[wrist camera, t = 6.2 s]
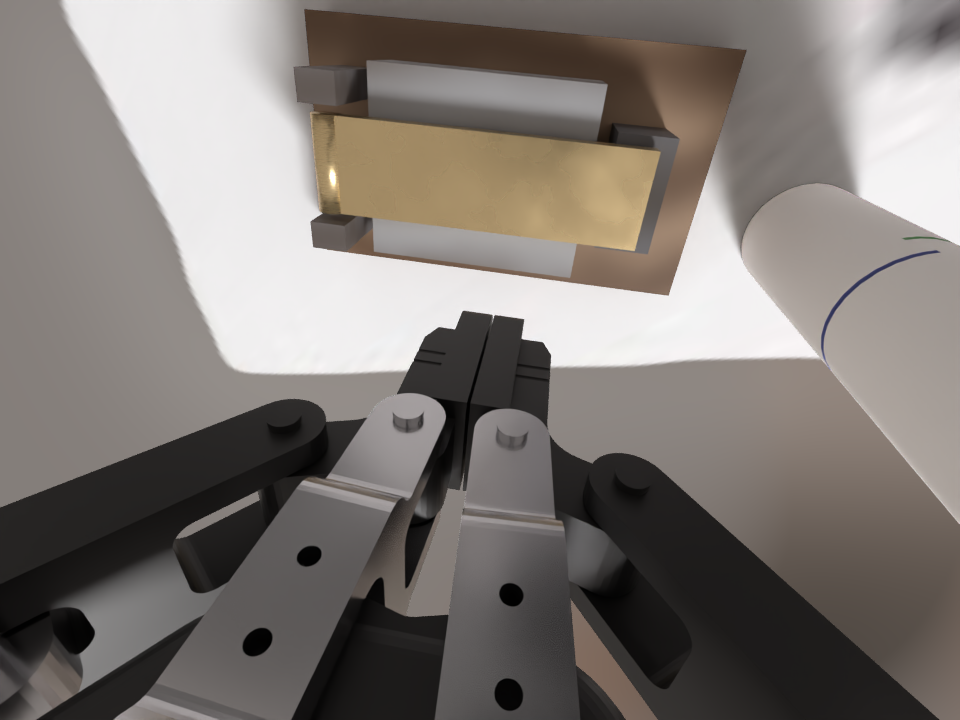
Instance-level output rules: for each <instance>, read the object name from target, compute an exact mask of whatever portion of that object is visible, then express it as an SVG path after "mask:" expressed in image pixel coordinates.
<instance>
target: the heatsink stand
mask: <svg viewBox="0 0 960 720" xmlns="http://www.w3.org/2000/svg"><path fill="white" fill-rule="evenodd" d="M304 10H305V21H306V31H307V42H308V53H309V64H310V66H302V67H294V74H295V83H296V92H297V102H303V103H312V104H313V106H314V111H330V112H338V113H341V114H350V115H359V116H368V117H377V118H386V119H396V120H405V121H414V122H423V123H432V124H441V125H450V126H459V127H468V128H478V129H487V130H496V131H505V132H514V133H523V134H532V135H541V136H551V137H560V138H569V139H578V140H587V141H596V142H605V143H614V144H623V145H633V146H642V147H651V148H658V149H659V150H660V151H661V153H660V157H659V160H658V164H657V168H656V172H655V176H654V179H653V183H652V187H651V191H650V195H649V198H648V202H647V206H646V210H645V214H644V217H643V221H642V225H641V229H640V233H639V236H638V240H637V244H636V248H635V251H630V250H622V249H614V248H606V247H599V246H591V245H583V244H575V243H567V242H559V241H551V240H543V239H535V238H528V237H520V236H512V235H504V234H496V233H488V232H480V231H472V230H465V229H457V228H449V227H441V226H433V225H425V224H417V223H409V222H401V221H394V220H386V219H378V218H370V217H362V216H354V215H346V214H326V213H323V214H321V215H320V216H318V217H317V218H315V219H314V220H312V221H311V231H312V240H313V247H315V248H323V249H327V250H334V251H341V252H349V253H356V254H364V255H371V256H379V257H386V258H393V259H401V260H408V261H416V262H423V263H430V264H438V265H445V266H453V267H460V268H468V269H475V270H482V271H490V272H497V273H505V274H512V275H519V276H527V277H534V278H542V279H549V280H557V281H564V282H571V283H579V284H586V285H594V286H601V287H609V288H616V289H623V290H631V291H638V292H646V293H653V294H660V295H669V292H670V289H671V286H672V283H673V280H674V276H675V273H676V270H677V267H678V264H679V261H680V258H681V254H682V251H683V248H684V245H685V242H686V239H687V236H688V232H689V229H690V226H691V223H692V220H693V217H694V214H695V210H696V207H697V204H698V201H699V198H700V195H701V192H702V189H703V185H704V182H705V179H706V176H707V173H708V170H709V167H710V163H711V160H712V157H713V154H714V151H715V148H716V145H717V141H718V138H719V135H720V132H721V129H722V126H723V123H724V119H725V116H726V113H727V110H728V107H729V104H730V101H731V97H732V94H733V91H734V88H735V85H736V82H737V79H738V75H739V72H740V69H741V66H742V63H743V60H744V57H745V53H746V50H740V49H729V48H719V47H708V46H697V45H686V44H675V43H664V42H654V41H643V40H632V39H621V38H610V37H600V36H589V35H578V34H567V33H556V32H545V31H535V30H524V29H513V28H502V27H491V26H481V25H470V24H459V23H448V22H437V21H426V20H416V19H405V18H394V17H383V16H372V15H361V14H351V13H340V12H329V11H318V10H307V9H304Z"/></svg>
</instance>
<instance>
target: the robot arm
mask: <svg viewBox="0 0 960 720" xmlns="http://www.w3.org/2000/svg"><path fill="white" fill-rule="evenodd" d="M492 321H493V323H492ZM523 324H524V319H518V318H511V317H504V316H497V315H495V316H494V319H493V315H490V314H483V313H476V312H469V311H463V312H462V314H461V316H460V319H459V321H458V324H457V326H456V329H455V330H454V329H447V328H441V327H439V328H437V329H436V330H434V331H433V332H431V333H430V334H428V335H427V336H425V338H424V340H423V342H422V344H421V346H420V348H419V351H418V352H417V354H416V356H415V358H414V362H412V364H411V366H410V368H409V370H408V372H407V374H406V377H405V379H404V381H403V383H402V385H401V387H400V389H399V391H398V393H397V395H393V396H390V397H388V398H386V399H384V400H382V401H380V402H379V403H378V404H377V405H376V406H375V407H374V408H373V410H372V411H371V413H370V414H369V416H368V417H367V418H364V419H359V420H350V421H334V422H326V416H325V413H324V411H323V410H322V409H321V408H320V407H319V406H318V405H316V404H314V403H312V402H310V401H306V400H300V399H287V400H280V401H275V402H272V403H270V404H267V405H264V406H261V407H259V408H256V409H254V410H251V411H248V412H246V413H243V414H241V415H238V416H236V417H233V418H230V419H228V420H225V421H223V422H220V423H217V424H215V425H212V426H210V427H207V428H204V429H202V430H199V431H197V432H194V433H192V434H189V435H186V436H184V437H181V438H179V439H176V440H173V441H171V442H169V443H166V444H163V445H161V446H158V447H155V448H153V449H150V450H148V451H145V452H142V453H140V454H137V455H135V456H132V457H130V458H128V459H124V460H122V461H119V462H117V463H114V464H112V465H109V466H106V467H104V468H101V469H99V470H96V471H93V472H91V473H88V474H86V475H83V476H81V477H78V478H75V479H73V480H70V481H68V482H65V483H62V484H60V485H57V486H55V487H52V488H50V489H47V490H44V491H42V492H39V493H37V494H34V495H32V496H29V497H26V498H24V499H21V500H19V501H16V502H13V503H11V504H8V505H6V506H3V507H1V508H0V720H626V719H625V718H624V717H623V715H622V713H621V712H620V711H619V709H618V708H617V706H616V705H615V704H614V703H613V701H612V700H611V699H610V698H609V697H608V695H607V694H606V693H605V692H604V691H603V690H602V689H601V688H600V686H598V684H597V683H596V682H595V681H594V680H593V679H592V678H591V677H589V676H588V675H587V674H586V673H585V672H583V671H582V670H581V669H580V668H579V667H577V666H576V662H575V649H574V637H573V625H572V613H571V600H572V601H573V603H574V604H575V605H576V607H577V608H578V609H579V611H580V612H581V614H582V615H583V616H584V618H585V619H586V621H587V622H588V623H589V625H590V626H591V627H592V629H593V630H594V632H595V633H596V634H597V636H598V637H599V638H600V640H601V641H602V643H603V644H604V645H605V647H606V648H607V649H608V651H609V652H610V654H611V655H612V657H613V658H614V659H615V661H616V662H617V663H618V665H619V666H620V668H621V669H622V670H623V672H624V673H625V674H626V676H627V677H628V679H629V680H630V681H631V683H632V684H633V686H634V687H635V688H636V690H637V691H638V693H639V694H640V695H641V697H642V698H643V700H644V701H645V702H646V704H647V705H648V706H649V708H650V709H651V711H652V712H653V713H654V715H655V716H656V717H657V719H658V720H939V719H938V718H937V717H936V716H935V715H933V714H932V713H931V712H930V711H929V710H928V709H927V708H926V707H924V706H923V705H922V704H921V703H920V702H919V701H918V700H917V699H915V698H914V697H913V696H912V695H911V694H910V693H909V692H908V691H907V690H905V689H904V688H903V687H902V686H901V685H900V684H899V683H898V682H897V681H895V680H894V679H893V678H892V677H891V676H890V675H889V674H888V673H887V672H885V671H884V670H883V669H882V668H881V667H880V666H879V665H877V664H876V663H875V662H874V661H873V660H872V659H871V658H870V657H869V656H867V655H866V654H865V653H864V652H863V651H862V650H861V649H860V648H859V647H857V646H856V645H855V644H854V643H853V642H852V641H851V640H850V639H849V638H847V637H846V636H845V635H844V634H843V633H842V632H841V631H840V630H839V629H837V628H836V627H835V626H834V625H833V624H832V623H831V622H830V621H828V620H827V619H826V618H825V617H824V616H823V615H822V614H821V613H819V612H818V611H817V610H816V609H815V608H814V607H813V606H812V605H811V604H809V603H808V602H807V601H806V600H805V599H804V598H803V597H802V596H801V595H799V594H798V593H797V592H796V591H795V590H794V589H793V588H791V587H790V586H789V585H788V584H787V583H786V582H785V581H784V580H783V579H781V578H780V577H779V576H778V575H777V574H776V573H775V572H774V571H773V570H771V569H770V568H769V567H768V566H767V565H766V564H765V563H764V562H763V561H761V560H760V559H759V558H758V557H757V556H756V555H755V554H754V553H752V552H751V551H750V550H749V549H748V548H747V547H746V546H745V545H744V544H743V543H741V542H740V541H739V540H738V539H737V538H736V537H735V536H734V535H732V534H731V533H730V532H729V531H728V530H727V529H726V528H725V527H724V526H722V525H721V524H720V523H719V522H718V521H717V520H716V519H715V518H713V517H712V516H711V515H710V514H709V513H708V512H707V511H706V510H705V509H703V508H702V507H701V506H700V505H699V504H698V503H697V502H696V501H694V500H693V499H692V498H691V497H690V496H689V495H688V494H687V493H686V492H684V491H683V490H682V489H681V488H680V487H679V486H678V485H677V484H676V483H674V482H673V481H672V480H671V479H670V478H669V477H668V476H667V475H665V474H664V473H663V472H662V471H661V470H660V469H659V468H657V467H656V466H655V465H653V464H651V463H650V462H649V461H646V460H644V459H642V458H640V457H637V456H634V455H630V454H624V453H612V454H607V455H603V456H601V457H599V458H598V459H597V460H595V461H594V462H593V464H592V463H589V462H587V461H584V460H582V459H580V458H577V457H575V456H573V455H571V454H569V453H568V452H566V451H564V450H563V449H562V448H561V447H559V446H558V445H557V444H556V443H555V442H554V440H553V439H552V438H551V436H550V434H549V432H548V428H547V416H548V399H549V379H550V364H551V354H550V353H549V351H548V350H547V348H546V347H545V345H544V343H543V342H537V341H530V340H523V339H521V338H522V331H523ZM464 470H465V471H464ZM463 474H464V482H463V491H466V496H465V504H464V509H463V512H462V519H461V526H460V533H459V541H458V549H457V557H456V564H455V571H454V579H453V586H452V594H451V602H450V609H449V615H439V616H425V617H424V616H423V617H408V616H406V615H407V610H408V607H409V603H410V600H411V597H412V593H413V591H414V588H415V586H416V583H417V580H418V578H419V575H420V572H421V569H422V566H423V564H424V561H425V559H426V556H427V553H428V551H429V548H430V545H431V542H432V540H433V537H434V534H435V532H436V529H437V526H438V523H439V520H440V514H441V508H442V506H443V504H444V500H445V497H446V493H447V489H448V488H450V489H456V490H460V486H461V482H462V478H463ZM256 491H258V495H259V499H260V500H259V501H257V502H255V503H253V504H251V505H249V506H247V507H245V508H243V509H241V510H239V511H237V512H236V513H233V514H231V515H230V516H228V517H225V518H223V519H222V520H220V521H218V522H216V523H214V524H212V525H210V526H208V527H206V528H204V529H202V530H200V531H198V532H196V533H194V534H192V535H190V536H187V537H184V538H180V539H175V538H176V537H177V535H178V534H179V533H180V532H181V531H182V530H183V529H184V528H185V527H187V526H188V525H190V524H191V523H193V522H195V521H197V520H199V519H201V518H203V517H205V516H207V515H209V514H211V513H214V512H216V511H217V510H220V509H222V508H223V507H226V506H228V505H230V504H232V503H234V502H236V501H238V500H240V499H242V498H244V497H246V496H248V495H250V494H252V493H254V492H256ZM570 598H571V600H570Z"/></svg>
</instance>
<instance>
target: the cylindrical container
mask: <svg viewBox="0 0 960 720" xmlns="http://www.w3.org/2000/svg"><path fill="white" fill-rule="evenodd" d="M741 251H742V259H743V262H744V265H745V267H746V269H747V270H748V272H749V273H750V275H751V276H752V277H753V278H754V279H755V281H756V282H757V283H758V284H759V285H760V287H761V288H762V289H763V290H764V291H765V293H766V294H767V295H768V296H769V297H770V298H771V300H772V301H773V302H774V303H775V304H776V306H777V307H778V308H779V309H780V310H781V312H782V313H783V314H784V315H785V316H786V318H787V319H788V320H789V321H790V322H791V324H792V325H793V326H794V327H795V328H796V330H797V331H798V332H799V333H800V334H801V335H802V337H803V338H804V339H805V340H806V341H807V343H808V344H809V345H810V346H811V347H812V349H813V350H814V351H815V352H816V353H817V355H818V356H819V357H820V358H821V359H822V361H823V362H824V363H825V364H826V365H827V366H828V368H829V369H830V370H831V371H832V372H833V374H834V375H835V376H836V377H837V378H838V380H839V381H840V382H841V383H842V384H843V385H844V387H845V388H846V389H847V390H848V392H849V393H850V394H851V395H852V396H853V398H855V400H856V401H857V402H858V404H859V405H860V406H861V407H862V408H863V410H864V411H865V412H866V413H867V414H868V415H869V417H870V418H871V419H872V420H873V421H874V423H875V424H876V425H877V426H878V427H879V429H880V430H881V431H882V432H883V433H884V434H885V436H886V437H887V438H888V439H889V441H890V442H891V443H892V444H893V445H894V447H895V448H896V449H897V450H898V451H899V452H900V454H901V455H902V456H903V457H904V458H905V460H906V461H907V462H908V463H909V464H910V466H911V467H912V468H913V469H914V470H915V472H916V473H917V474H918V475H919V476H920V478H921V479H922V480H923V481H924V482H925V484H926V485H927V486H928V487H929V488H930V489H931V490H932V492H933V493H934V494H935V496H936V497H937V498H938V499H939V500H940V501H941V503H942V504H943V505H944V506H945V507H946V509H947V510H948V511H949V512H950V513H951V514H952V516H953V517H954V518H955V519H956V521H957V522H958V523H959V524H960V246H958V245H956V244H954V243H952V242H950V241H948V240H946V239H944V238H942V237H940V236H938V235H936V234H934V233H932V232H930V231H928V230H926V229H924V228H921V227H919V226H917V225H915V224H913V223H911V222H909V221H907V220H905V219H903V218H901V217H899V216H897V215H895V214H893V213H891V212H889V211H887V210H885V209H883V208H880V207H878V206H876V205H874V204H872V203H870V202H868V201H866V200H864V199H862V198H860V197H858V196H856V195H854V194H852V193H850V192H848V191H846V190H844V189H842V188H839V187H836V186H833V185H830V184H821V183H814V184H805V185H801V186H797V187H793V188H791V189H789V190H786V191H784V192H782V193H780V194H779V195H777V196H775V197H774V198H772V199H771V200H769V201H768V202H767V203H766V204H765V205H763V206H762V207H761V208H760V209H759V211H758V212H757V213H756V214H755V215H754V216H753V218H752V219H751V221H750V223H749V224H748V226H747V228H746V231H745V233H744V236H743V240H742V246H741Z"/></svg>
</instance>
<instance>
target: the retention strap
mask: <svg viewBox="0 0 960 720" xmlns="http://www.w3.org/2000/svg"><path fill="white" fill-rule="evenodd" d="M310 119H311V130H312V140H313V150H314V160H315V171H316V181H317V191H318V202H319V211H320V212H322V213H326V214H346V215H354V216H362V217H370V218H378V219H386V220H394V221H401V222H409V223H417V224H425V225H433V226H441V227H449V228H457V229H465V230H472V231H480V232H488V233H496V234H504V235H512V236H520V237H528V238H535V239H543V240H551V241H559V242H567V243H575V244H583V245H591V246H599V247H606V248H614V249H622V250H630V251H635V248H636V244H637V240H638V236H639V233H640V229H641V225H642V221H643V217H644V214H645V210H646V206H647V202H648V198H649V195H650V191H651V187H652V183H653V179H654V176H655V172H656V168H657V164H658V160H659V157H660V153H661V151H660V150H659V149H658V148H651V147H642V146H633V145H623V144H614V143H605V142H596V141H587V140H578V139H569V138H560V137H551V136H541V135H532V134H523V133H514V132H505V131H496V130H487V129H478V128H468V127H459V126H450V125H441V124H432V123H423V122H414V121H405V120H396V119H386V118H377V117H368V116H359V115H350V114H341V113H338V112H330V111H312V112H310Z"/></svg>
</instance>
